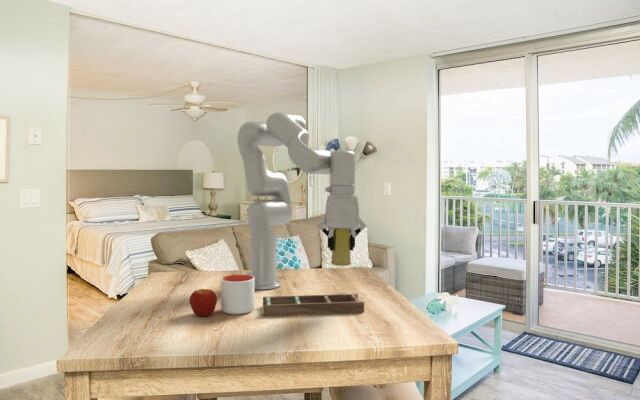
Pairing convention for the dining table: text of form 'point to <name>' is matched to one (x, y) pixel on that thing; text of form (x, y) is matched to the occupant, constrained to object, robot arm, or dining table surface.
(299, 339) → the dining table surface
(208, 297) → the apple
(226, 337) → the dining table surface
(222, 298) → the cup
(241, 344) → the dining table surface
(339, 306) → the wooden compartment tray
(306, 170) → the robot arm
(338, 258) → the vase
